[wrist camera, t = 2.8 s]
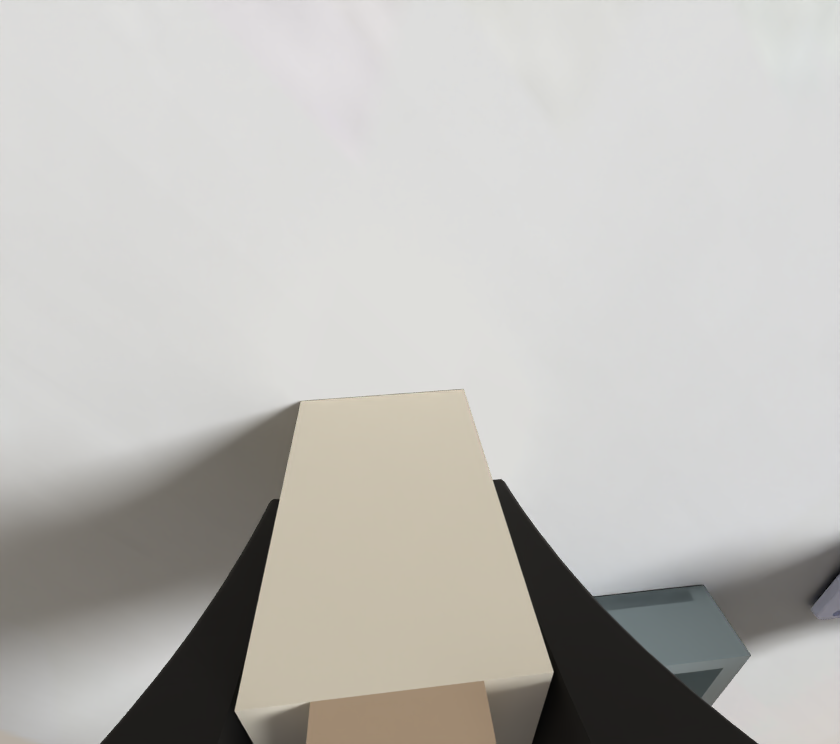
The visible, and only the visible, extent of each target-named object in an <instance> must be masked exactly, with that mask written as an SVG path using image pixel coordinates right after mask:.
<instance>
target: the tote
mask: <svg viewBox="0 0 840 744" xmlns="http://www.w3.org/2000/svg"><path fill="white" fill-rule="evenodd" d="M594 598H595V599H596V600H597V601H598V602H599V603H600V604H601V606H602V607H603V608H604V609H605V610H606V611H607V612H608V613H609V614H610V615H611V616H612V617H613V618H614V619H615V620H616V621H617V622H618V623H619V624H620V625H621V626H622V627H623V628H624V629H625V630H626V631H627V632H628V633H629V634H630V635H631V636H632V637H633V638H634V639H635V640H636V641H638V642H639V643H640V644H641V645H642V646H643V647H644V648H645V649H646V650H647V651H648V652H649V653H650V654H651V655H653V656H654V657H655V658H656V659H657V660H658V661H659V662H660V663H662V664H663V665H664V666H665V667H666V668H667V669H668V670H669V671H671V672H672V673H673V674H674V675H675V676H676V677H677V678H679V679H680V680H681V681H682V682H683V683H684V684H685V685H686V686H688V687H689V688H690V689H691V690H692V691H693V692H694V693H696V694H697V695H698V696H699V697H700V698H702V699H703V700H704V701H705V702H706V703H708V704H709V705H710V706H712V704H713V703H714V702H715V701H716V699H717V698H718V697H719V696H720V694H721V693H722V692H723V690H724V689H725V688H726V687H727V685H728V684H729V683H730V682H731V680H732V679H733V678H734V676H735V675H736V674H737V673H738V671H739V670H740V669H741V668H742V666H743V665H744V664H745V662H746V661H747V660H748V659H749V657H750V656H751V655H750V653H749V652H748V650H747V649H746V647H745V646H744V644H743V643H742V641H741V640H740V638H739V637H738V635H737V634H736V632H735V631H734V629H733V628H732V626H731V625H730V623H729V622H728V620H727V619H726V617H725V616H724V615H723V613H722V612H721V610H720V609H719V607H718V606H717V604H716V603H715V601H714V600H713V598H712V597H711V595H710V594H709V592H708V591H707V589H706V588H705V586H704V585H701V586H692V587H683V588H674V589H664V590H655V591H646V592H637V593H628V594H619V595H610V596H601V597H594Z"/></svg>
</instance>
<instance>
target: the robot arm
mask: <svg viewBox="0 0 840 744" xmlns="http://www.w3.org/2000/svg"><path fill="white" fill-rule="evenodd" d="M493 483H494V486H495V489H496V492H497V495H498V499H499V502H500V505H501V508H502V511H503V514H504V517H505V521H506V524H507V527H508V530H509V533H510V536H511V539H512V543H513V546H514V549H515V552H516V555H517V558H518V561H519V565H520V568H521V571H522V574H523V577H524V580H525V583H526V587H527V590H528V593H529V596H530V599H531V602H532V605H533V609H534V612H535V615H536V618H537V621H538V624H539V627H540V631H541V634H542V637H543V640H544V643H545V646H546V649H547V653H548V656H549V659H550V662H551V665H552V668H553V671H554V673H553V676H552V679H551V683H550V686H549V689H548V692H547V696H546V699H545V702H544V705H543V709H542V712H541V715H540V718H539V722H538V725H537V728H536V731H535V735H534V738H533V741H532V744H758V743H756V742H755V741H754V740H753V739H751V738H750V737H749V736H747V735H746V734H745V733H744V732H742V731H741V730H740V729H739V728H737V727H736V726H735V725H733V724H732V723H731V722H730V721H728V720H727V719H726V718H725V717H724V716H722V715H721V714H720V713H719V712H717V711H716V710H715V709H714V708H713V707H711V706H710V705H709V704H708V703H706V702H705V701H704V700H703V699H702V698H700V697H699V696H698V695H697V694H696V693H694V692H693V691H692V690H691V689H690V688H689V687H688V686H686V685H685V684H684V683H683V682H682V681H681V680H680V679H679V678H677V677H676V676H675V675H674V674H673V673H672V672H671V671H669V670H668V669H667V668H666V667H665V666H664V665H663V664H662V663H660V662H659V661H658V660H657V659H656V658H655V657H654V656H653V655H651V654H650V653H649V652H648V651H647V650H646V649H645V648H644V647H643V646H642V645H641V644H640V643H639V642H638V641H636V640H635V639H634V638H633V637H632V636H631V635H630V634H629V633H628V632H627V631H626V630H625V629H624V628H623V627H622V626H621V625H620V624H619V623H618V622H617V621H616V620H615V619H614V618H613V617H612V616H611V615H610V614H609V613H608V612H607V611H606V610H605V609H604V608H603V607H602V606H601V604H600V603H599V602H598V601H597V600H596V599H595V598H594V597H593V596H592V595H591V594H590V593H589V591H588V590H587V589H586V588H585V587H584V586H583V585H582V584H581V582H580V581H579V580H578V579H577V578H576V577H575V576H574V574H573V573H572V572H571V571H570V570H569V569H568V567H567V566H566V565H565V564H564V563H563V561H562V560H561V559H560V558H559V557H558V555H557V554H556V553H555V552H554V550H553V549H552V548H551V547H550V545H549V544H548V543H547V541H546V540H545V539H544V538H543V536H542V535H541V534H540V532H539V531H538V530H537V528H536V527H535V526H534V524H533V523H532V522H531V520H530V519H529V518H528V516H527V515H526V513H525V512H524V511H523V509H522V508H521V506H520V505H519V503H518V502H517V500H516V499H515V497H514V496H513V494H512V493H511V491H510V490H509V488H508V487H507V485H506V483H505V482H504V481H503V480H501V479H498V480H493ZM279 501H280V499H273V500H272V501H271V502H270V503H269V505H268V507H267V509H266V511H265V512H264V514H263V516H262V518H261V520H260V522H259V524H258V526H257V527H256V529H255V531H254V533H253V535H252V537H251V538H250V540H249V542H248V543H247V545H246V547H245V549H244V550H243V552H242V554H241V555H240V557H239V559H238V560H237V562H236V564H235V565H234V567H233V569H232V570H231V572H230V573H229V575H228V577H227V578H226V580H225V582H224V583H223V585H222V586H221V588H220V589H219V591H218V592H217V594H216V595H215V597H214V598H213V600H212V601H211V603H210V604H209V606H208V607H207V609H206V610H205V612H204V613H203V615H202V616H201V617H200V619H199V620H198V622H197V623H196V625H195V626H194V628H193V629H192V630H191V632H190V633H189V635H188V636H187V637H186V639H185V640H184V642H183V643H182V644H181V646H180V647H179V648H178V650H177V651H176V652H175V654H174V655H173V656H172V658H171V659H170V660H169V661H168V663H167V664H166V665H165V667H164V668H163V669H162V670H161V672H160V673H159V674H158V676H157V677H156V678H155V679H154V681H153V682H152V683H151V684H150V686H149V687H148V688H147V689H146V690H145V692H144V693H143V694H142V695H141V696H140V698H139V699H138V700H137V701H136V703H135V704H134V705H133V706H132V707H131V709H130V710H129V711H128V712H127V713H126V715H125V716H124V717H123V718H122V719H121V720H120V722H119V723H118V724H117V725H116V726H115V727H114V729H113V730H112V731H111V732H110V733H109V734H108V735H107V737H106V738H105V739H104V740H103V741H102V742H101V743H100V744H253V742H252V740H251V739H250V737H249V735H248V733H247V732H246V730H245V728H244V727H243V725H242V723H241V721H240V720H239V718H238V716H237V714H236V713H235V707H236V702H237V697H238V693H239V688H240V683H241V679H242V674H243V669H244V664H245V660H246V655H247V650H248V646H249V641H250V636H251V632H252V627H253V622H254V618H255V613H256V608H257V604H258V599H259V594H260V590H261V585H262V580H263V576H264V571H265V566H266V562H267V557H268V552H269V548H270V543H271V538H272V533H273V529H274V524H275V519H276V515H277V510H278V505H279ZM811 612H812V613H813V614H814V615H815V617H816V618H818V619H832V618H840V574H839V575H838V576H837V577H836V579H835V580H834V581H833V582H832V583H831V585H830V586H829V587H828V588H827V589H826V591H825V592H824V593H823V594H822V595H821V597H820V598H819V599H818V600H817V601H816V603H815V604H814V605H813V606H812V608H811Z"/></svg>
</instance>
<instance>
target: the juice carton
mask: <svg viewBox="0 0 840 744" xmlns="http://www.w3.org/2000/svg"><path fill="white" fill-rule="evenodd" d="M553 673H554V671H553V668H552V665H551V662H550V659H549V656H548V653H547V649H546V646H545V643H544V640H543V637H542V634H541V631H540V627H539V624H538V621H537V618H536V615H535V612H534V609H533V605H532V602H531V599H530V596H529V593H528V590H527V587H526V583H525V580H524V577H523V574H522V571H521V568H520V565H519V561H518V558H517V555H516V552H515V549H514V546H513V543H512V539H511V536H510V533H509V530H508V527H507V524H506V521H505V517H504V514H503V511H502V508H501V505H500V502H499V499H498V495H497V492H496V489H495V486H494V483H493V480H492V477H491V473H490V470H489V467H488V464H487V461H486V458H485V455H484V451H483V448H482V445H481V442H480V439H479V436H478V432H477V429H476V426H475V423H474V420H473V417H472V414H471V410H470V407H469V404H468V401H467V398H466V395H465V392H464V389H461V390H448V391H434V392H420V393H407V394H393V395H379V396H366V397H352V398H339V399H325V400H311V401H301V403H300V407H299V412H298V417H297V421H296V426H295V431H294V435H293V440H292V445H291V449H290V454H289V459H288V463H287V468H286V473H285V477H284V482H283V487H282V491H281V496H280V501H279V505H278V510H277V515H276V519H275V524H274V529H273V533H272V538H271V543H270V548H269V552H268V557H267V562H266V566H265V571H264V576H263V580H262V585H261V590H260V594H259V599H258V604H257V608H256V613H255V618H254V622H253V627H252V632H251V636H250V641H249V646H248V650H247V655H246V660H245V664H244V669H243V674H242V679H241V683H240V688H239V693H238V697H237V702H236V707H235V713H236V714H237V716H238V718H239V720H240V721H241V723H242V725H243V727H244V728H245V730H246V732H247V733H248V735H249V737H250V739H251V740H252V742H253V744H532V741H533V738H534V735H535V731H536V728H537V725H538V722H539V718H540V715H541V712H542V709H543V705H544V702H545V699H546V696H547V692H548V689H549V686H550V683H551V679H552V676H553Z"/></svg>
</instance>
